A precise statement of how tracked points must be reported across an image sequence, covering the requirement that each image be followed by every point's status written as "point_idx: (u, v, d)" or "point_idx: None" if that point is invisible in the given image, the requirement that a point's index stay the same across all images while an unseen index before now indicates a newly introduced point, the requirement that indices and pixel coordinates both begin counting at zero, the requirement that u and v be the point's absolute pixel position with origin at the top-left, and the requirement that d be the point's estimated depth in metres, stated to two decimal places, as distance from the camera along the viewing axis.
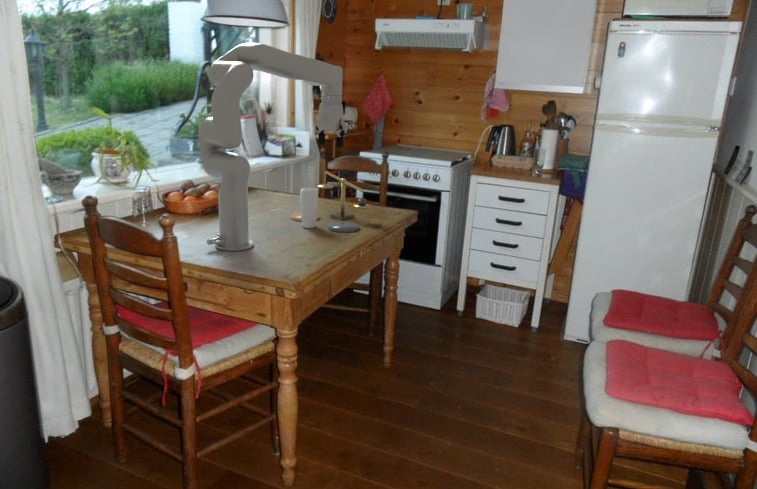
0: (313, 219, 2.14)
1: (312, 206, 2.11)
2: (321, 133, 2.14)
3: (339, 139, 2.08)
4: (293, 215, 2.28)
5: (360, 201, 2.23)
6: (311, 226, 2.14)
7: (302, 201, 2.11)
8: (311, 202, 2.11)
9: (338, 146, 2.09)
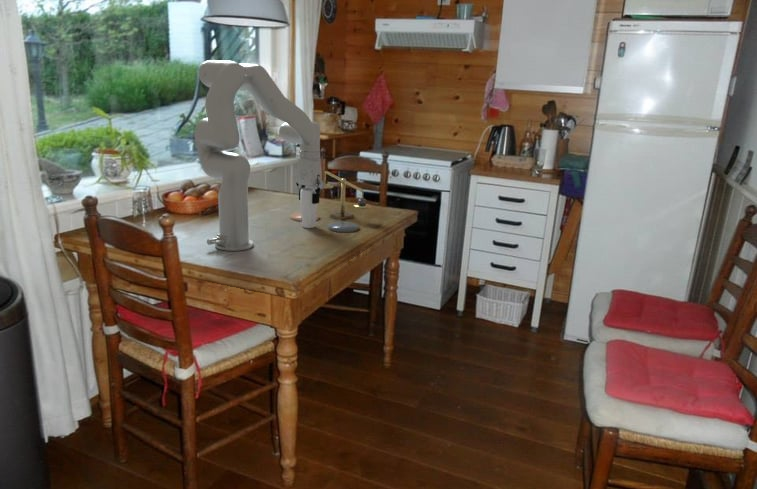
0: (313, 219, 2.14)
1: (312, 206, 2.11)
2: None
3: (315, 196, 2.09)
4: (293, 215, 2.28)
5: (360, 201, 2.23)
6: (311, 226, 2.14)
7: (302, 201, 2.11)
8: (311, 202, 2.11)
9: (314, 202, 2.10)
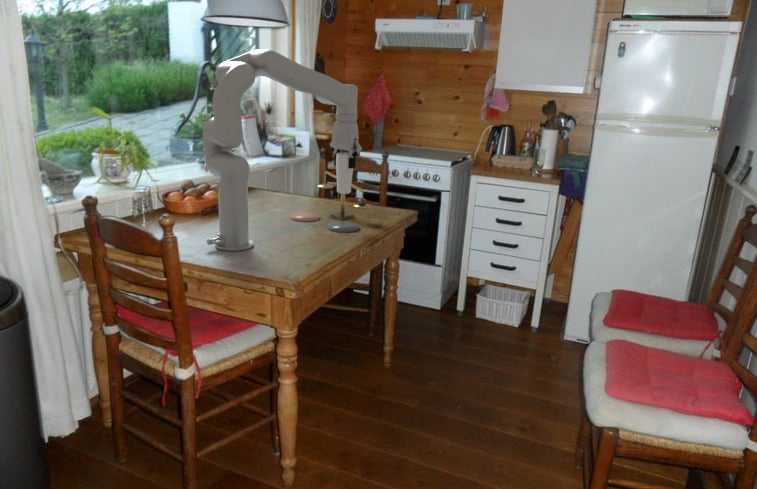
0: (349, 184, 2.10)
1: (348, 171, 2.08)
2: None
3: (351, 160, 2.06)
4: (293, 215, 2.28)
5: (360, 201, 2.23)
6: (347, 192, 2.11)
7: (338, 166, 2.07)
8: (347, 167, 2.07)
9: (350, 167, 2.07)
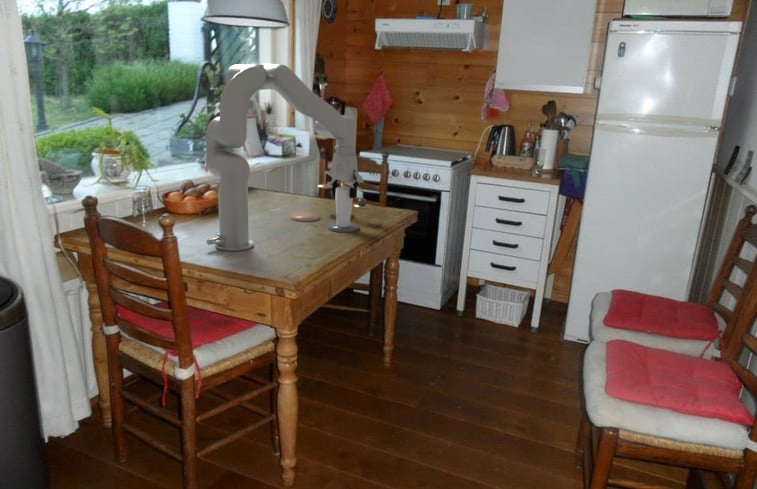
0: (348, 218, 2.14)
1: (347, 205, 2.11)
2: (335, 182, 2.14)
3: (353, 190, 2.08)
4: (293, 215, 2.28)
5: (360, 201, 2.23)
6: (346, 225, 2.14)
7: (338, 200, 2.11)
8: (347, 201, 2.11)
9: (351, 196, 2.09)
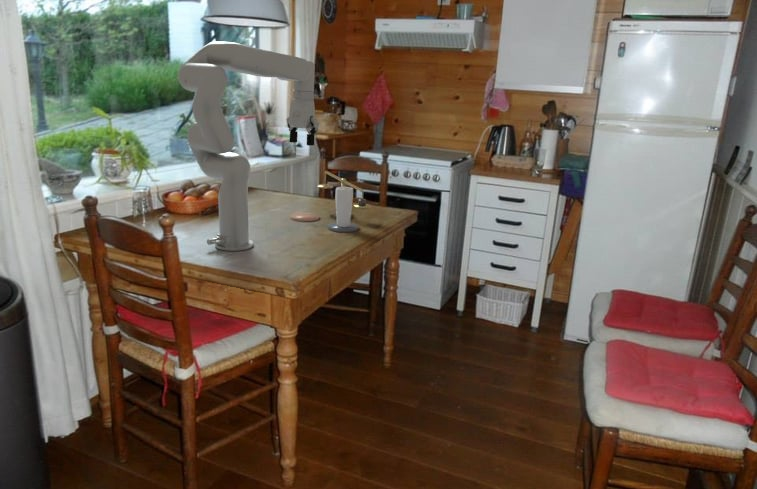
0: (348, 218, 2.14)
1: (347, 205, 2.11)
2: (293, 130, 2.07)
3: (310, 136, 2.01)
4: (293, 215, 2.28)
5: (360, 201, 2.23)
6: (346, 225, 2.14)
7: (338, 200, 2.11)
8: (347, 201, 2.11)
9: (309, 144, 2.02)
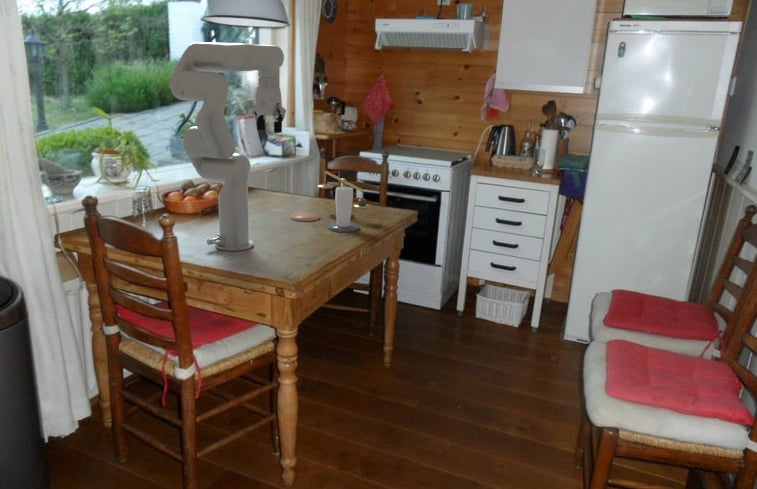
0: (348, 218, 2.14)
1: (347, 205, 2.11)
2: (260, 118, 2.05)
3: (277, 124, 1.99)
4: (293, 215, 2.28)
5: (360, 201, 2.23)
6: (346, 225, 2.14)
7: (338, 200, 2.11)
8: (347, 201, 2.11)
9: (276, 131, 2.00)
